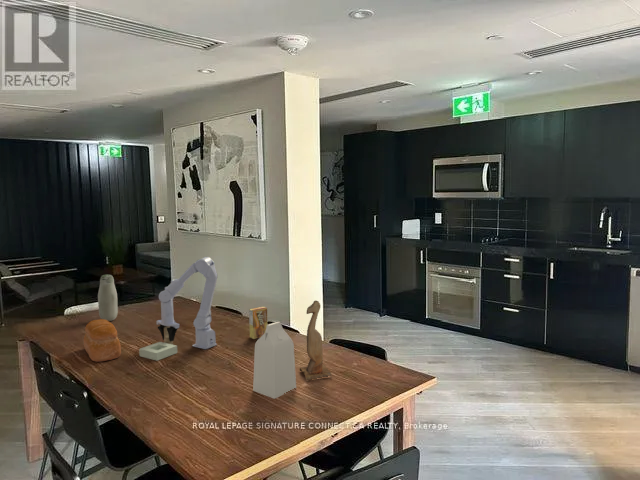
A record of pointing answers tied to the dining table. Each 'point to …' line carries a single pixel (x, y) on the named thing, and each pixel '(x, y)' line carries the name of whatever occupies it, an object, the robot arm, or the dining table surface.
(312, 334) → the bird sculpture
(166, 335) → the peg
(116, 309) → the grey bottle
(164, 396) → the dining table surface
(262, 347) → the milk
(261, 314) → the candy box
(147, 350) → the socket block
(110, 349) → the bread
